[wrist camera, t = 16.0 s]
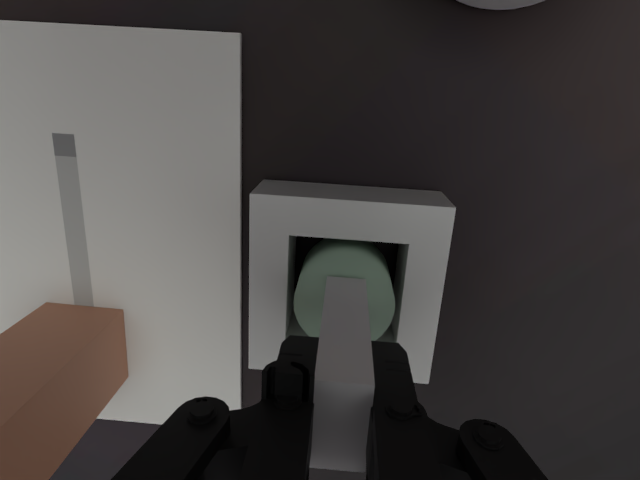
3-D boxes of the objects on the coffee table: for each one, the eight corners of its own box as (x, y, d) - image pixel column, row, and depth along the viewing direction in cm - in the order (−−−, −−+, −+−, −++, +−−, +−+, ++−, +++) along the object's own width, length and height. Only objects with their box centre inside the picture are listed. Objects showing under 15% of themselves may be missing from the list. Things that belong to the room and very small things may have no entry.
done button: (303, 231, 20) (295, 254, 17) (393, 237, 20) (400, 261, 17) (299, 311, 21) (291, 345, 18) (384, 318, 21) (389, 353, 18)
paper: (-128, 13, 19) (-136, 12, 19) (241, 33, 18) (240, 32, 18) (-36, 402, 26) (-41, 405, 25) (241, 427, 25) (240, 431, 25)
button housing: (263, 179, 20) (249, 193, 17) (441, 191, 20) (456, 207, 17) (261, 334, 23) (248, 368, 20) (418, 347, 23) (428, 383, 20)
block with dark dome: (46, 302, 23) (-229, 492, 12) (123, 309, 23) (-86, 509, 12) (55, 369, 24) (-186, 596, 13) (128, 376, 24) (-55, 612, 13)
